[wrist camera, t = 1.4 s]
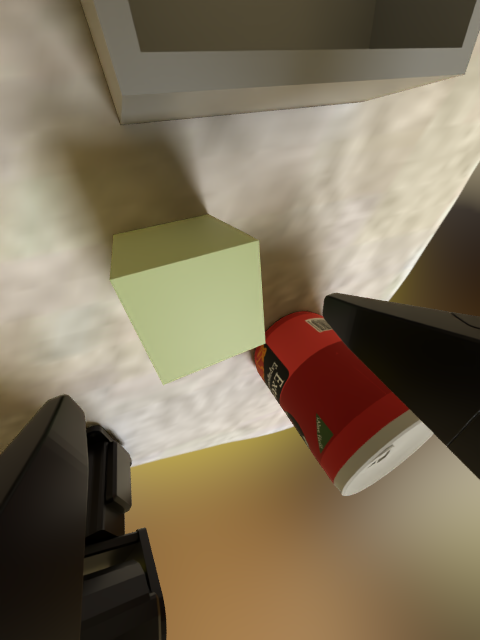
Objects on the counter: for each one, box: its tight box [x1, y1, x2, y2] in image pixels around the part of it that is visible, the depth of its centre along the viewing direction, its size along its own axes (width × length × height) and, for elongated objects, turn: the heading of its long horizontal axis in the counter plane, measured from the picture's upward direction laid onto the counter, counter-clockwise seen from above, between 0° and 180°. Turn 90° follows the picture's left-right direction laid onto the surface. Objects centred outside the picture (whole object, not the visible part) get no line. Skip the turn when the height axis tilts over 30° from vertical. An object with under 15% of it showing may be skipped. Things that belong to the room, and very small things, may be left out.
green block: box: [110, 214, 265, 385], centre depth 11 cm, size 5×5×6 cm
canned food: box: [255, 311, 434, 496], centre depth 17 cm, size 8×8×11 cm
